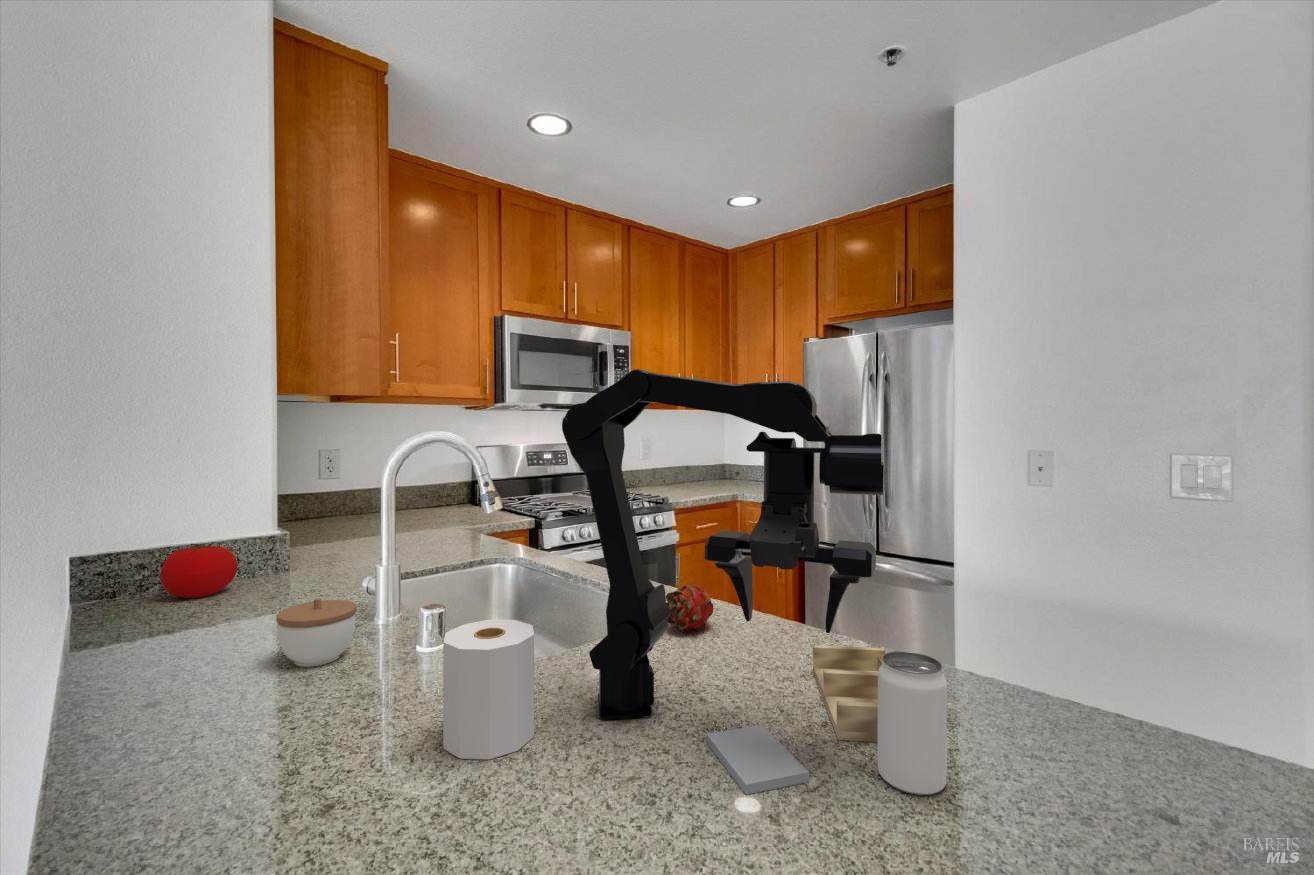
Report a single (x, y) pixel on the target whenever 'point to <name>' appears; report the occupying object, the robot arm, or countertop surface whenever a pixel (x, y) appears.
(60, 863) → the countertop surface
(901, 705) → the can
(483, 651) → the toilet paper
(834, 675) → the rack
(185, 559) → the tomato
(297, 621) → the lidded jar
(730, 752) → the block
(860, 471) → the robot arm
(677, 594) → the dragon fruit
